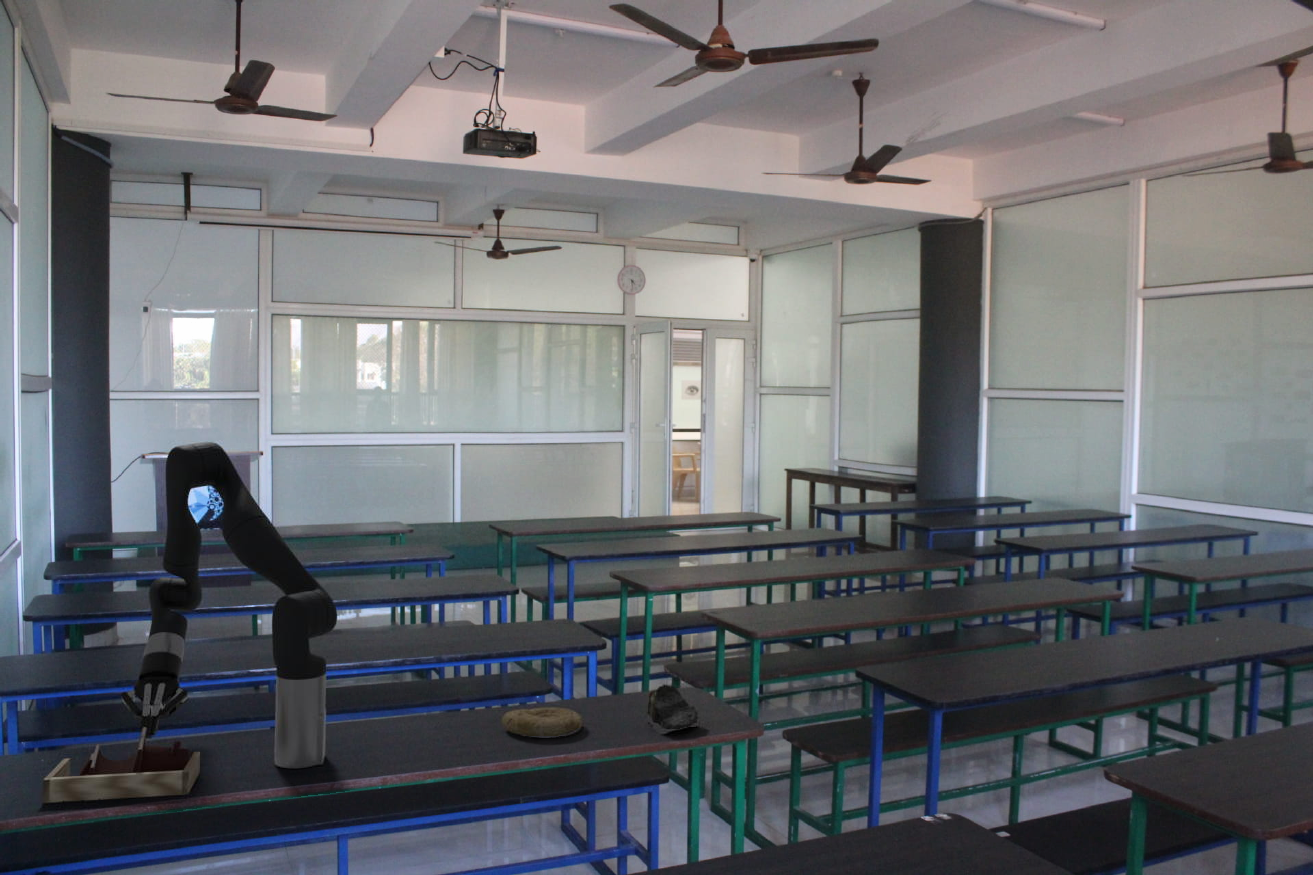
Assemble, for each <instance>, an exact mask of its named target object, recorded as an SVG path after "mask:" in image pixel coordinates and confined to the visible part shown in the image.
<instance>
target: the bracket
mask: <svg viewBox="0 0 1313 875" xmlns="http://www.w3.org/2000/svg"><path fill="white" fill-rule="evenodd" d="M146 731H147V728H146V727H143V728H142V732H141V733H140V736H139V740H138V744H137V747H136V750H135V752H134V754H132V756H130V757H128V758H126V759H123V760H111V759H108V758H106V757H105V756H104V755H103V754H102V753H101V750H100V749H101V745H100V744H96V745H95V749H94V753H91V754H90V755H89V756H88V758H87V760H86V761H85V763H84V764H83V765H82V767H81V768H80V771H79V775H78V776H89V775H107V774H126V773H144V772H163V771H181V770H184V768H185V767H186V765H187V763H188V762H189V760H190V758H191V757H190V756H191V748H181V747H182V741H177V740H173V743H172V747H171V746H170V747H169V746H158V745H150V744H149V745H148V744H146V742H147V739H146V738H145V736H146Z"/></svg>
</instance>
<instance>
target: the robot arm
mask: <svg viewBox="0 0 1313 875" xmlns="http://www.w3.org/2000/svg"><path fill="white" fill-rule="evenodd" d="M208 486H211V487H212V488H214V489H215V491H216V492H217V494H218V495H219V497H220V498H221V501H222V503H223V511H222V520H221V521H222V523H221V532H222V537H223V539H224V541H225V543H226V544H227V545H228V547H229V549H230V550H231V552H232V553H233V554H234V556H235V557H236V558H237V560H238V561H239V562H240V563H241V564H242V565H243V566H245V567H246V568H247V569H248V570H250V571H252V572H253V573H255V574H257V575H258V576H260V577H261V578H263V579H265V580H266V581H268V582H270V583H272V584H273V585H274V586H276V587H277V588H278V589H280V591H282V593H283V594H284V595H283V596H281V597H280V598H279V599H278V600H277V601H276V603H275V604H274V607H273V610H272V615H271V635H272V636H271V638H272V639H271V642H272V643H271V644H272V658H273V662H274V665H275V669H276V676H275V678H276V679H275V680H276V681H275V684H276V685H275V686H276V687H275V715H274V716H275V717H274V718H275V720H274V726H275V727H274V753H273V755H274V765H275V766H277V767H280V768H284V769H304V768H309V767H314V766H317V765H323V764H324V761H325V758H326V757H325V756H326V730H327V729H326V727H327V725H326V724H327V708H326V696H327V695H326V694H327V693H326V692H327V690H326V689H327V688H326V687H327V661H326V658H324V657H323V656H322V655H319V654H315V653H311V649H310V639H313V638H317V637H321V636H325V635H326V634H328V633H331V632H332V631H333V630H334V628H335V627H336V626H337V621H338V611H337V610H338V609H337V608H336V604H335V602H334V601H333V598H332V597H331V595H330V594H329V593H328V592H327V590H326V589H325V588H324V587H323V586H322V585H321V584H320V583H319V582H318V581H317V580H316V578H315V577H314V576H313V575H311V573H310V572H309V571H308V570H307V568H305V567H304V565H303V564H302V562H301V561H300V560H299V558H298V557H297V556H296V555H295V553H294V552H293V551H292V550H291V548H290V547H289V546H288V545H287V543H286V542H285V540H284V539H283V537H282V535H280V532H278V529H277V528H276V527H275V526H274V524H273V523H272V522H271V520H270V518H269V517H268V516H267V515H266V514H265V512H264V511H263V510H262V509H261V507H260V506H259V504H258V502H256V500H255V499H254V497H253V495H252V494H251V492H250V491H249V490H248V488H247V486H246V485H245V483H244V482H243V480H242V478H241V476H240V474H239V473H238V470H237V469H236V467H235V465H234V464H233V462H232V460H231V458H230V456H229V455H228V453H227V451H225V449H224V448H223V447H222V446H221V445H220V444H218V443H216V442H213V441H205V442H195V443H190V444H183V445H178V446H175V447H173V448H172V449H171V450H170V451H169V452H168V454H167V457H166V462H165V499H166V500H165V501H166V502H165V503H166V504H165V505H166V524H167V525H166V526H167V527H166V538H165V543H164V550H163V552H164V553H163V558H162V568H163V570H164V571H165V572H166V573H167V574H169V575H173V576H176V577H177V578H176V577H170V576H169V577H168V576H167V577H165V576H162V577H158V578H156V579H155V580H153V581H152V583H151V584H150V586H149V590H148V600H149V604H150V605H149V606H150V612H151V623H150V628H149V633H148V634H149V635H148V638H147V642H146V645H145V648H144V652H143V655H142V660H141V663H140V664H141V665H140V670H139V673H138V679H137V681H136V683H135V684H134V685H133V689H132V690H130V691H128V692H126V691H123V692H122V693H121V694H120V698H121V700H122V704H123V705H125V707H126V708H127V710H128V711H129V712H130V713H131V715H132V716H133V718H134V719H135V720H141V724H140V728H139V732H140V734H141V732H142V728H143V727H146V728H147V731H146V736H145V738H146V740H148V739H153V736H156V735H157V733H158V728H159V722H160V720H162V719H165V720H166V719H169V718H170V717H171V716H173V715H174V714H175V713H176V712H177V711H178V710H179V709H180V708H181V707H182V706H184V704H185V703H187V702H188V701H189V700H190V695H189V692H188V690H187V689H181V686H180V675H181V670H182V666H183V660H184V654H185V641H186V635H187V632H188V631H187V630H188V620H187V618H186V616H184V615H183V614H182V613H179V612H188V613H191V612H193V611H195V610H196V609H197V608H199V606H200V605H201V603H202V600H203V588H202V584H201V580H200V573H199V561H200V556H201V555H200V554H201V548H202V532H201V529H200V527H199V525H198V522H197V520H196V519H195V518H194V516H193V514H192V512H191V510H190V507H189V496H190V492H191V489H195V488H202V487H208ZM136 697H137V699H139V701H140V703H141V704H142V706H143V707H142V710H141V709H140V707H138V705H137V704H136V703H135V701H136ZM167 703H168V704H167Z"/></svg>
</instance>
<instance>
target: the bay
mask: <svg viewBox="0 0 1313 875" xmlns="http://www.w3.org/2000/svg"><path fill="white" fill-rule="evenodd" d="M200 762H201V751H193V753H192V755H191V757H189V762H188V763H187V765H186V767H185V768H184V770H181V771H163V772H144V773H126V774H107V775H89V776H79V775H75V776H74V775H73V776H71V758H70V757H69V758H63V759H62V760H61V761H60V762H59V763H58V764H57V765H56V767H55V768H53V769H52V771H50V772H49V774H47V776H46V777H45V778H43V782H42V784H43V785H42V786H43V787H42V788H43V789H42V790H43V791H42V803H43V804H47V803H48V804H49V803H63V801H64V803H65V801H66V802H81V800H82V801H83V800H84V801H99V799H100V801H101V800H115V799H117V800H118V799H128V798H129V799H131V798H132V799H133V798H134V799H135V798H146V797H147V798H149V797H151V798H152V797H165V796H179V795H181V796H183V795H184V796H185V795H189V793H190V792H191V789H192V787H193V785H194V784H195V782H196V780H197V779H198V776H199V775H200V773H201V772H200V769H201V767H200V766H201V765H200Z"/></svg>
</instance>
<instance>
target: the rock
mask: <svg viewBox="0 0 1313 875" xmlns="http://www.w3.org/2000/svg"><path fill="white" fill-rule="evenodd" d="M647 714H649V715H650V718H651V720H652V721H653V722H655V723H658V724H659V725H660V726H661V727H662V728H665V729H680V728H684V727H688V726H691V725H694V723H697V719H699V718H700V717H699V716H698V711H697V708H696V707H695V706H694V705H692V704H689V703H688V702H687V700H686V698H684V697H683V696H682V694H681V692H680V691H679V690H678V689H677V687H676V686H673V685H669V684H665V683H663V685H660V686H659V687H658V688H657V689H652V690H651V691H650V692H649V693H648V704H647V712H646V715H647Z"/></svg>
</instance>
